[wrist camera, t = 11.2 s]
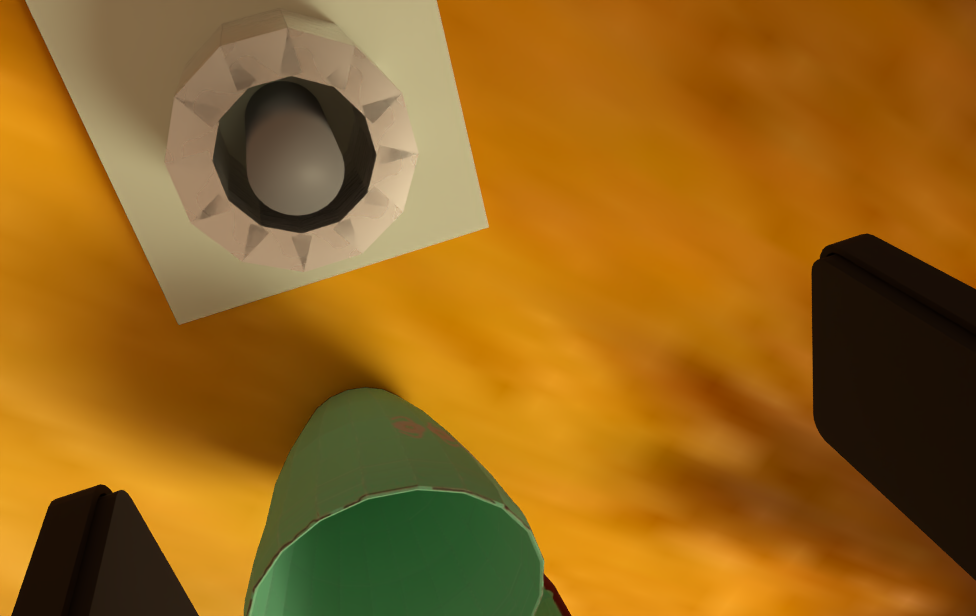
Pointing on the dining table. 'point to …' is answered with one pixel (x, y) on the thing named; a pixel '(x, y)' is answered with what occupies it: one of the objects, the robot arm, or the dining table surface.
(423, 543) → the mug
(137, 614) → the robot arm
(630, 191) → the dining table surface
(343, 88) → the white hollow cylinder
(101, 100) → the square base peg stand
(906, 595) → the dining table surface
